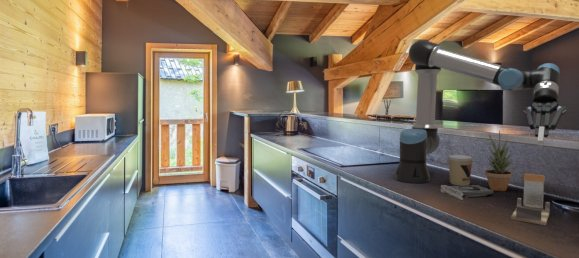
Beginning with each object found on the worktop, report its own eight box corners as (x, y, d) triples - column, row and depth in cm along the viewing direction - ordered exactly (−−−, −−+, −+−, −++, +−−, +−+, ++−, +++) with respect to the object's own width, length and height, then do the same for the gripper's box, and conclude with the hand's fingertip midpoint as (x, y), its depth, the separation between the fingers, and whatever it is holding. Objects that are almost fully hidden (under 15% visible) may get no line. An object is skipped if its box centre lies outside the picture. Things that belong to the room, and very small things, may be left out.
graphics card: (460, 192, 124) (440, 184, 136) (460, 202, 125) (439, 193, 136) (501, 190, 127) (477, 182, 139) (500, 200, 128) (477, 191, 139)
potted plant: (479, 187, 144) (480, 128, 142) (497, 186, 146) (499, 128, 145) (499, 193, 134) (501, 130, 133) (518, 191, 136) (520, 129, 135)
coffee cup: (464, 187, 144) (465, 159, 143) (443, 183, 152) (444, 156, 151) (475, 183, 150) (476, 156, 148) (455, 179, 157) (455, 153, 156)
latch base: (517, 208, 114) (518, 196, 114) (549, 213, 108) (550, 201, 108) (511, 219, 103) (511, 206, 103) (545, 225, 98) (546, 211, 98)
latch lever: (523, 206, 112) (524, 173, 112) (543, 209, 109) (544, 175, 108) (522, 207, 111) (524, 174, 110) (542, 210, 108) (544, 176, 107)
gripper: (524, 89, 132) (517, 135, 120) (567, 87, 124) (564, 136, 112) (525, 103, 136) (519, 148, 125) (567, 102, 128) (564, 151, 116)
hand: (540, 143), depth 118 cm, fingers closed
